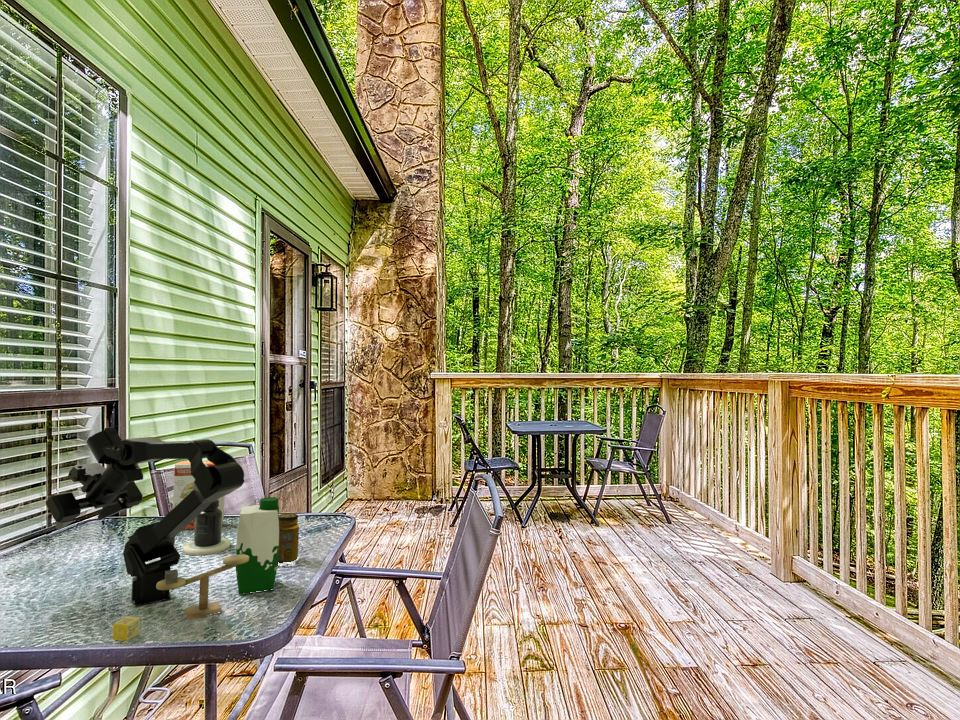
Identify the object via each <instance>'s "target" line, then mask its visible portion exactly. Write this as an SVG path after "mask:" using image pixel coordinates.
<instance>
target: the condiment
mask: <svg viewBox="0 0 960 720" xmlns="http://www.w3.org/2000/svg"><path fill="white" fill-rule="evenodd" d="M298 518H299V515H298V514H297V513H293V512H287V513H280V514H279V517H278V519H279V551H278V562H279V563H283V562H291V561H294V560H296V559H297V557H298V556H299V534H300V533H299V532H300V531H299V530H300V525H299V524H298V522H299V520H298Z"/></svg>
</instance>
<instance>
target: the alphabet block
mask: <svg viewBox="0 0 960 720" xmlns="http://www.w3.org/2000/svg"><path fill="white" fill-rule="evenodd" d="M141 623H142V621H141V617H137V616H129V615H127V616H125V617H123V618H120V620H117V621H116V622H114V623H113V625H112V626H113V628H112V639H113V640H115V641H123V642H125V641H126V642H128V641H130V640H131V639H132V638H135V637H136V636H137V635H139V634H140V633H141V625H142V624H141Z"/></svg>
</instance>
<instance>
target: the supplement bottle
mask: <svg viewBox="0 0 960 720" xmlns="http://www.w3.org/2000/svg"><path fill="white" fill-rule="evenodd" d="M218 507H219V500H218V499H217V500H215V501H213V502H212V503H211V504H210V505H209V506H208V507H207V508H206V509H205V510H204V511H203V512H201V513H200V514H199V515H198V516H197V517H196V518H195V529H194V535H193V536H194V537H193V541H194V544H195V545H196V546H198V547H208V546H214V545H217V544H219V543H220V542H221V538H222V535H223V534H222V532H223V524H222V511H221V510H220V509H218Z"/></svg>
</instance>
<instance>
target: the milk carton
mask: <svg viewBox="0 0 960 720" xmlns="http://www.w3.org/2000/svg"><path fill="white" fill-rule="evenodd" d="M279 501H280V500H279V498H278V497H276V496H275V497H274V496H273V497H272V496H269V497H263V498H260V499H259V504H253V505H249V506H248V505H247V506H241V509H240V513H239V520H238V524H237V527H236V528H237V529H236V542H235V543H236V545H235V555H239V554H244V555H248V556H249V561H248V562H246V563H243V564H239V565H237V566H236V567H235V577H236V582H237V583H236V584H237V591H238V592H237V593H238V595H239V594H243V593H250V592H256V591H264V590H271V589H273V590H274V588H275V582H276V577H277V576H276V575H277V571H278V567H277V566H278V551H279V519H278V517H279V515H280V514H279V512H280V507H279V506H280V505H279ZM243 595H244V594H243Z"/></svg>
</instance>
